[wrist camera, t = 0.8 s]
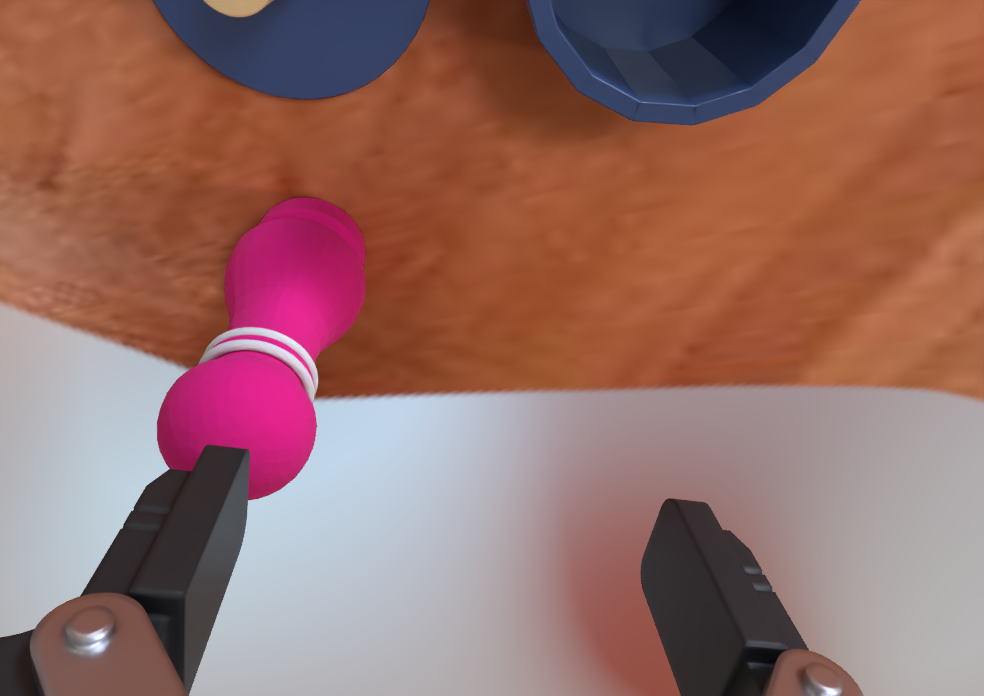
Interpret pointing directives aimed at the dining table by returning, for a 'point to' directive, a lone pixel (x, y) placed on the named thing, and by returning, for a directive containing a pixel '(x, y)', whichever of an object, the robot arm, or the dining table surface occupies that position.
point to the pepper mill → (270, 344)
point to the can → (684, 51)
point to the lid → (297, 40)
